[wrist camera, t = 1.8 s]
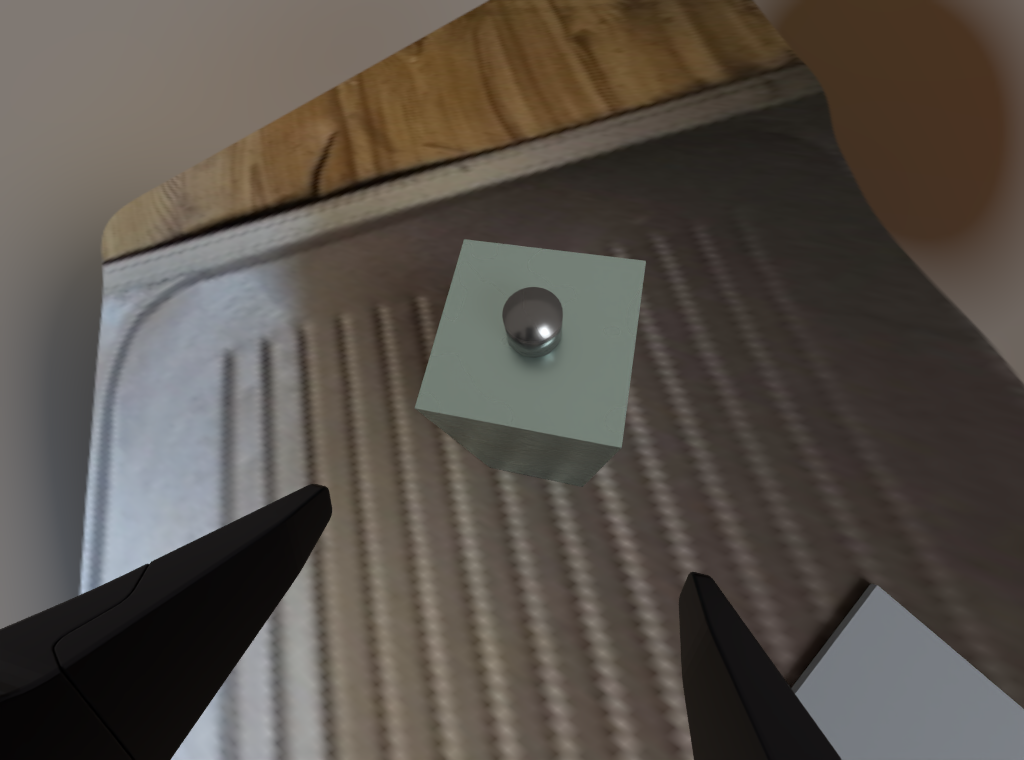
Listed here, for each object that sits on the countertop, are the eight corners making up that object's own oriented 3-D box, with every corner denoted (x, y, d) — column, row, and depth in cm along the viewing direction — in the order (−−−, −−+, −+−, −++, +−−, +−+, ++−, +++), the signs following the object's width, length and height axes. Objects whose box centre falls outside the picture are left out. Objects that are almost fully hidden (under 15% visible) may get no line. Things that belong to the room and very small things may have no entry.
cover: (582, 486, 21) (629, 440, 8) (489, 467, 22) (399, 396, 9) (596, 396, 22) (654, 235, 10) (509, 381, 23) (456, 214, 10)
